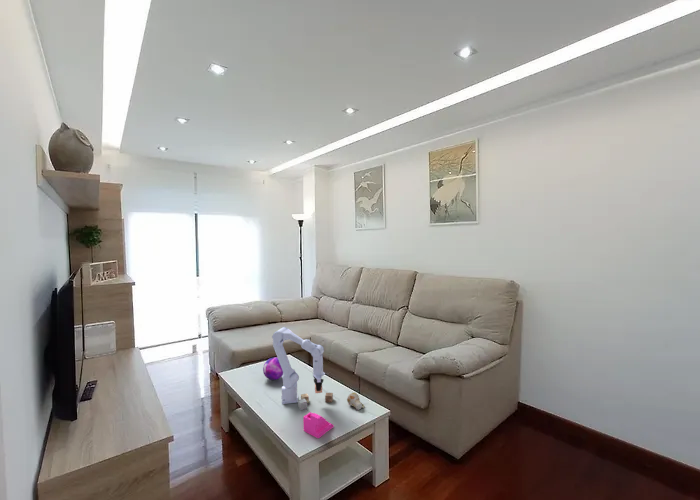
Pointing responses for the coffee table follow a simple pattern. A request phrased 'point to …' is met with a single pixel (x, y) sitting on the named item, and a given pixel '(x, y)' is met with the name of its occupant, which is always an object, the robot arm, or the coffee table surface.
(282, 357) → the robot arm
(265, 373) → the decorative orb
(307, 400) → the beech cube
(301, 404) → the slate cube
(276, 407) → the coffee table surface
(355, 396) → the cream patterned bulbous figurine
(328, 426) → the bracket
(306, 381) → the coffee table surface
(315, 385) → the terracotta cube
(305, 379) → the coffee table surface
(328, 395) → the walnut cube
